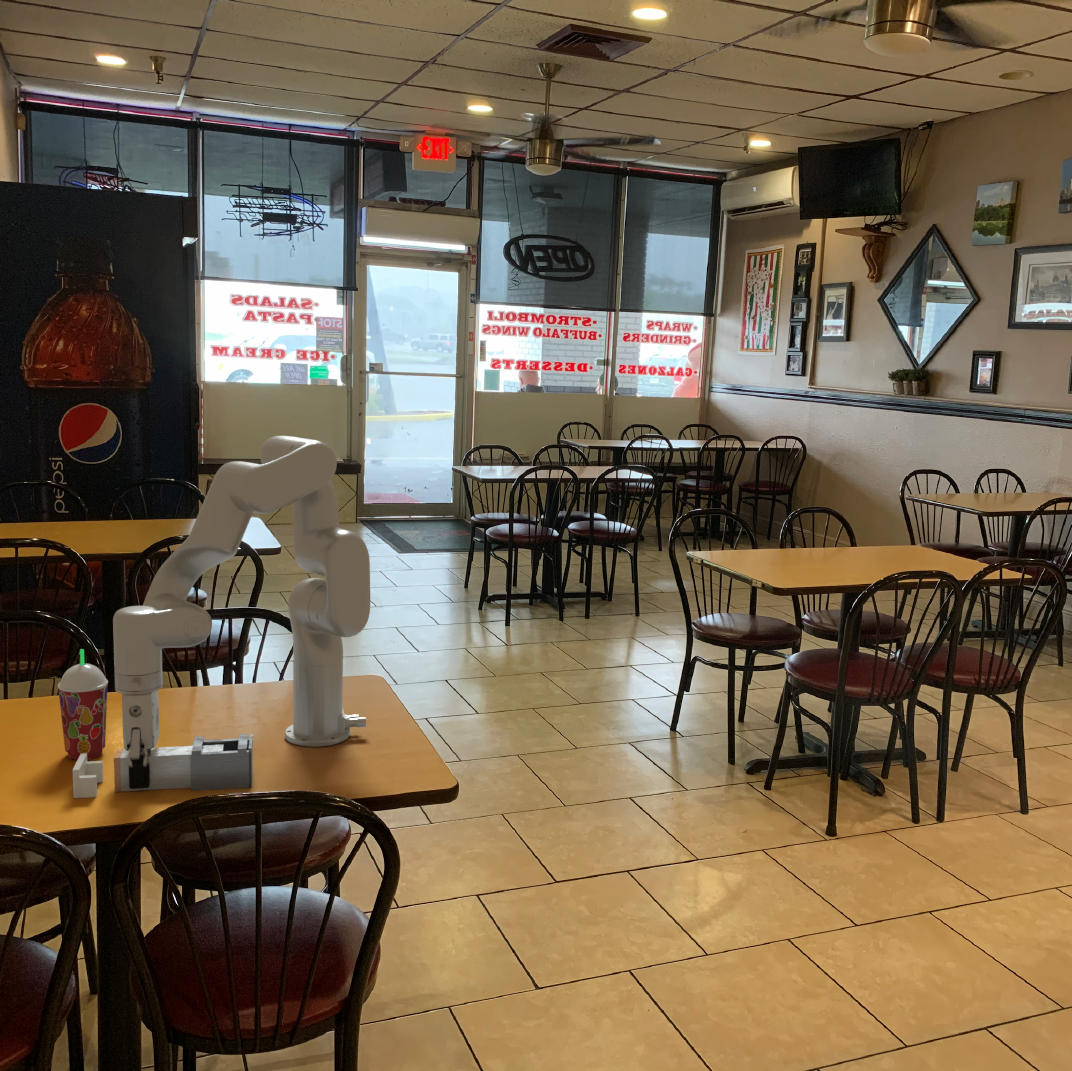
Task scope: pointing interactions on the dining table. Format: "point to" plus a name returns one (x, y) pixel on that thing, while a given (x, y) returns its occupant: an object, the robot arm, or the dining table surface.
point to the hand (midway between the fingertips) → (141, 780)
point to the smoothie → (83, 709)
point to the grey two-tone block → (160, 767)
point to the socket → (86, 777)
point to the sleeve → (222, 764)
